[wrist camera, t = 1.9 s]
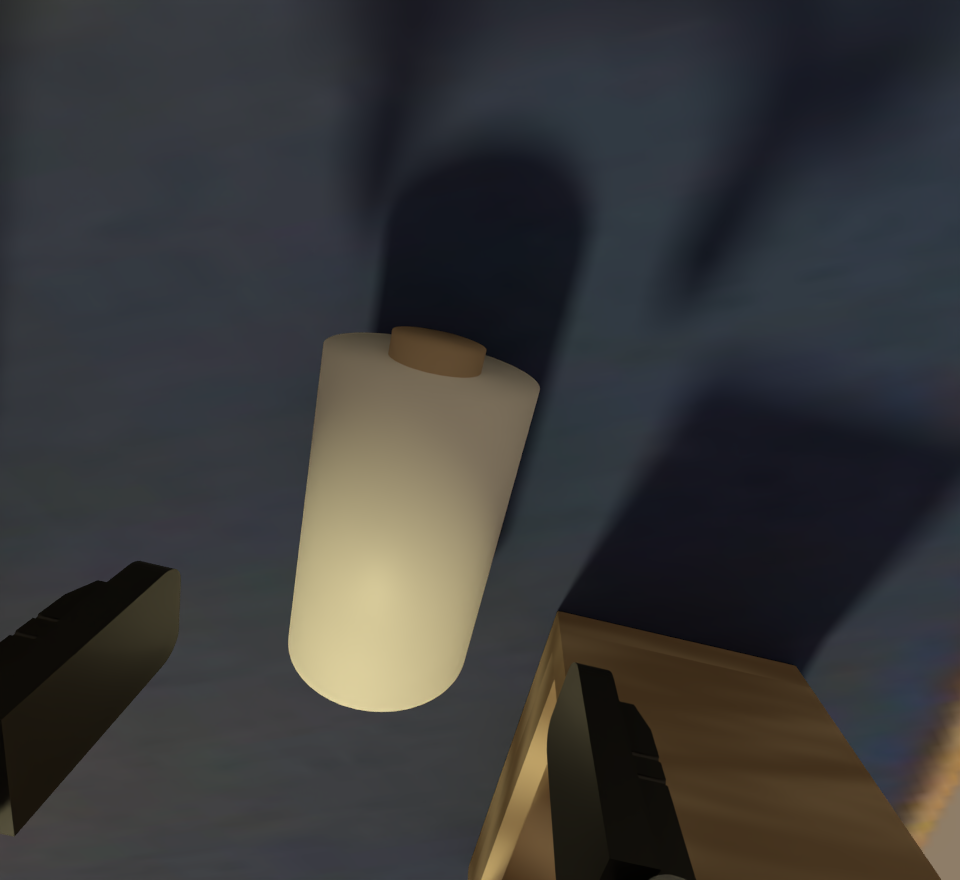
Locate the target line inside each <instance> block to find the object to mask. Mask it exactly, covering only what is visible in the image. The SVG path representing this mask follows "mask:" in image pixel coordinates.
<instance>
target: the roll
mask: <svg viewBox="0 0 960 880" xmlns="http://www.w3.org/2000/svg"><path fill="white" fill-rule="evenodd" d="M485 354H486V348H485V347H484V346H482V345H481V344H479V343H477V342H475V341H472V340H470V339H467V338H464V337H461V336H458V335H454V334H451V333H447V332H442V331H438V330H433V329H427V328H420V327H409V326H400V327H395V328H393V329H392V334H383V333H345V334H339V335H334V336H332V337H329V338H328V339H326V340H325V341H324V344H323V352H322V361H321V369H320V378H319V386H318V394H317V403H316V411H315V420H314V428H313V436H312V445H311V453H310V462H309V470H308V478H307V487H306V495H305V504H304V512H303V521H302V529H301V537H300V546H299V554H298V563H297V571H296V579H295V588H294V596H293V605H292V613H291V621H290V630H289V639H288V646H289V653H290V657H291V661H292V663H293V665H294V667H295V669H296V671H297V672H298V673H299V675H300V676H301V678H302V679H303V680H304V681H305V682H306V683H307V684H308V685H309V686H310V687H311V688H312V689H314V690H315V691H316V692H318V693H319V694H320V695H322V696H324V697H326V698H327V699H329V700H331V701H333V702H336V703H338V704H341V705H343V706H347V707H350V708H354V709H358V710H364V711H373V712H390V711H399V710H405V709H410V708H413V707H416V706H419V705H422V704H424V703H426V702H429V701H431V700H433V699H434V698H436V697H437V696H439V695H441V694H442V693H443V692H444V691H445V690H447V689H448V688H449V687H450V686H451V685H452V683H453V682H454V681H455V680H456V678H457V677H458V675H459V673H460V671H461V669H462V666H463V664H464V660H465V657H466V653H467V650H468V646H469V642H470V639H471V635H472V632H473V628H474V625H475V621H476V617H477V614H478V610H479V607H480V603H481V599H482V596H483V592H484V589H485V585H486V582H487V578H488V574H489V571H490V567H491V564H492V560H493V556H494V553H495V549H496V546H497V542H498V539H499V535H500V531H501V528H502V524H503V521H504V517H505V513H506V510H507V506H508V503H509V499H510V495H511V492H512V488H513V485H514V481H515V478H516V474H517V470H518V467H519V463H520V460H521V456H522V452H523V449H524V445H525V442H526V438H527V435H528V431H529V427H530V424H531V420H532V417H533V413H534V409H535V406H536V402H537V399H538V395H539V392H540V386H539V384H538V383H537V381H536V380H535V379H533V378H532V377H531V376H530V375H528V374H527V373H525V372H524V371H522V370H520V369H518V368H516V367H514V366H512V365H510V364H508V363H505V362H503V361H501V360H498V359H495V358H493V357H490V356H487V355H485Z"/></svg>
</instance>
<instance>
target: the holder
mask: <svg viewBox="0 0 960 880" xmlns="http://www.w3.org/2000/svg"><path fill="white" fill-rule="evenodd" d="M573 662H575V663H580V664H584V665H588V666H593V667H597V668H602V669H606V670H609V671H611V672H612V674H613V677H614V681H615V685H616V689H617V693H618V697H619V701H621V702H625V703H629V704H634V705H635V707H636V708H637V710H638V711H639V713H640V714H641V716H642V717H643V719H644V720H645V722H646V723H647V724H648V726H649V727H650V729H651V731H652V734H653V738H654V741H655V744H656V748H657V751H658V754H659V762H661V764H662V768H663V771H664V774H665V778H666V785H667V786H668V788H669V791H670V794H671V798H672V801H673V804H674V808H675V811H676V814H677V818H678V821H679V824H680V828H681V831H682V834H683V838H684V841H685V844H686V848H687V851H688V854H689V858H690V861H691V864H692V868H693V871H694V874H695V878H696V880H941V879H940V877H939V876H938V874H937V873H936V871H935V870H934V868H933V867H932V865H931V864H930V862H929V861H928V859H927V858H926V857H925V855H924V854H923V852H922V851H921V849H920V848H919V846H918V845H917V843H916V842H915V840H914V839H913V837H912V836H911V834H910V833H909V832H908V830H907V829H906V827H905V826H904V824H903V823H902V821H901V820H900V818H899V817H898V815H897V814H896V812H895V811H894V810H893V808H892V807H891V805H890V804H889V802H888V801H887V799H886V798H885V796H884V795H883V793H882V792H881V790H880V789H879V787H878V786H877V785H876V783H875V782H874V780H873V779H872V777H871V776H870V774H869V773H868V771H867V770H866V768H865V767H864V765H863V764H862V762H861V761H860V760H859V758H858V757H857V755H856V754H855V752H854V751H853V749H852V748H851V746H850V745H849V743H848V742H847V740H846V739H845V738H844V736H843V735H842V733H841V732H840V730H839V729H838V727H837V726H836V724H835V723H834V721H833V720H832V718H831V717H830V715H829V714H828V713H827V711H826V710H825V708H824V707H823V705H822V704H821V702H820V701H819V699H818V698H817V696H816V695H815V693H814V692H813V691H812V689H811V688H810V686H809V685H808V683H807V682H806V680H805V679H804V677H803V676H802V674H801V673H800V671H799V670H798V668H797V667H796V666H794V665H790V664H786V663H781V662H777V661H773V660H768V659H764V658H760V657H755V656H751V655H747V654H742V653H738V652H734V651H729V650H725V649H721V648H716V647H712V646H708V645H703V644H699V643H695V642H690V641H686V640H682V639H677V638H673V637H668V636H664V635H660V634H655V633H651V632H647V631H642V630H638V629H634V628H629V627H625V626H621V625H616V624H612V623H608V622H603V621H599V620H595V619H590V618H586V617H582V616H577V615H573V614H569V613H564V612H560V611H557V614H556V617H555V620H554V623H553V626H552V629H551V631H550V634H549V637H548V640H547V643H546V646H545V649H544V652H543V654H542V657H541V660H540V663H539V666H538V669H537V672H536V675H535V677H534V680H533V683H532V686H531V689H530V692H529V695H528V698H527V701H526V703H525V706H524V709H523V712H522V715H521V718H520V721H519V724H518V726H517V729H516V732H515V735H514V738H513V741H512V744H511V747H510V750H509V752H508V755H507V758H506V761H505V764H504V767H503V770H502V773H501V775H500V778H499V781H498V784H497V787H496V790H495V793H494V796H493V798H492V801H491V804H490V807H489V810H488V813H487V816H486V819H485V822H484V824H483V827H482V830H481V833H480V836H479V839H478V842H477V845H476V847H475V850H474V853H473V856H472V859H471V862H470V865H469V871H468V880H556V875H555V861H554V847H553V833H552V819H551V805H550V791H549V778H548V764H547V735H548V728H549V723H550V719H551V716H552V713H553V710H554V708H555V705H556V702H557V700H558V697H559V694H560V691H561V689H562V686H563V683H564V680H565V678H566V675H567V672H568V670H569V667H570V666H571V664H572V663H573Z"/></svg>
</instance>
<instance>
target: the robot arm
mask: <svg viewBox="0 0 960 880" xmlns="http://www.w3.org/2000/svg"><path fill="white" fill-rule="evenodd" d="M180 584H181V577H180V573H179V571H178V570H176V569H173V568H168V567H164V566H160V565H155V564H151V563H147V562H142V561H135V562H133V563H131V564H130V565H128V566H127V567H126V568H124V569H123V570H122V571H121V572H119V573H118V574H117V575H116V576H114V577H113V578H112V579H110V580H109V581H108V582H103V581H99V580H98V581H95V582H93V583H91V584H88V585H86V586H83V587H81V588H79V589H76V590H74V591H72V592H69V593H67V594H65V595H63V596H62V597H61V598H59V599H58V600H57V601H55V602H54V603H53V604H51V605H50V606H49V607H47V608H46V609H44V610H43V611H42V612H40V613H39V614H38V617H37V618H36V619H35V618H32V619H31V620H30V621H28V622H27V623H26V624H24V625H23V626H21V627H20V628H19V629H17V630H16V632H15V634H14V635H13V636H12V635H9V636H8V637H7V638H5V639H4V640H3V641H1V642H0V834H5V835H10V836H15V835H16V834H17V833H18V832H19V831H20V829H21V828H22V827H23V826H24V825H25V824H26V823H27V821H28V820H29V819H30V818H31V817H32V816H33V815H34V813H35V812H36V811H37V810H38V809H39V808H40V806H41V805H42V804H43V803H44V802H45V801H46V800H47V798H48V797H49V796H50V795H51V794H52V793H53V791H54V790H55V789H56V788H57V787H58V786H59V785H60V783H61V782H62V781H63V780H64V779H65V778H66V776H67V775H68V774H69V773H70V772H71V771H72V770H73V768H74V767H75V766H76V765H77V764H78V763H79V762H80V760H81V759H82V758H83V757H84V756H85V755H86V753H87V752H88V751H89V750H90V749H91V748H92V747H93V745H94V744H95V743H96V742H97V741H98V740H99V738H100V737H101V736H102V735H103V734H104V733H105V732H106V730H107V729H108V728H109V727H110V726H111V725H112V724H113V722H114V721H115V720H116V719H117V718H118V717H119V715H120V714H121V713H122V712H123V711H124V710H125V709H126V707H127V706H128V705H129V704H130V703H131V702H132V700H133V699H134V698H135V697H136V696H137V695H138V694H139V692H140V691H141V690H142V689H143V688H144V687H145V686H146V684H147V683H148V682H149V681H150V680H151V679H152V677H153V676H154V675H155V674H156V673H157V672H158V671H159V669H160V668H161V667H162V666H163V665H164V663H165V662H166V661H167V659H168V658H169V656H170V654H171V652H172V650H173V648H174V646H175V643H176V640H177V637H178V631H179V609H180ZM547 764H548V778H549V791H550V805H551V819H552V833H553V847H554V861H555V875H556V880H696V878H695V874H694V871H693V868H692V864H691V861H690V858H689V854H688V851H687V848H686V844H685V841H684V838H683V834H682V831H681V828H680V824H679V821H678V818H677V814H676V811H675V808H674V804H673V801H672V798H671V794H670V791H669V788H668V786H667V785H666V778H665V774H664V771H663V768H662V764H661V762H659V754H658V751H657V748H656V744H655V741H654V738H653V734H652V731H651V729H650V727H649V726H648V724H647V723H646V722H645V720H644V719H643V717H642V716H641V714H640V713H639V711H638V710H637V708H636V707H635V705H634V704H629V703H625V702H621V701H619V697H618V693H617V689H616V685H615V681H614V677H613V674H612V672H611V671H609V670H606V669H602V668H597V667H593V666H588V665H584V664H580V663H575V662H573V663H572V664H571V666H570V667H569V670H568V672H567V675H566V678H565V680H564V683H563V686H562V689H561V691H560V694H559V697H558V700H557V702H556V705H555V708H554V710H553V713H552V716H551V719H550V723H549V728H548V735H547Z"/></svg>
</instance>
